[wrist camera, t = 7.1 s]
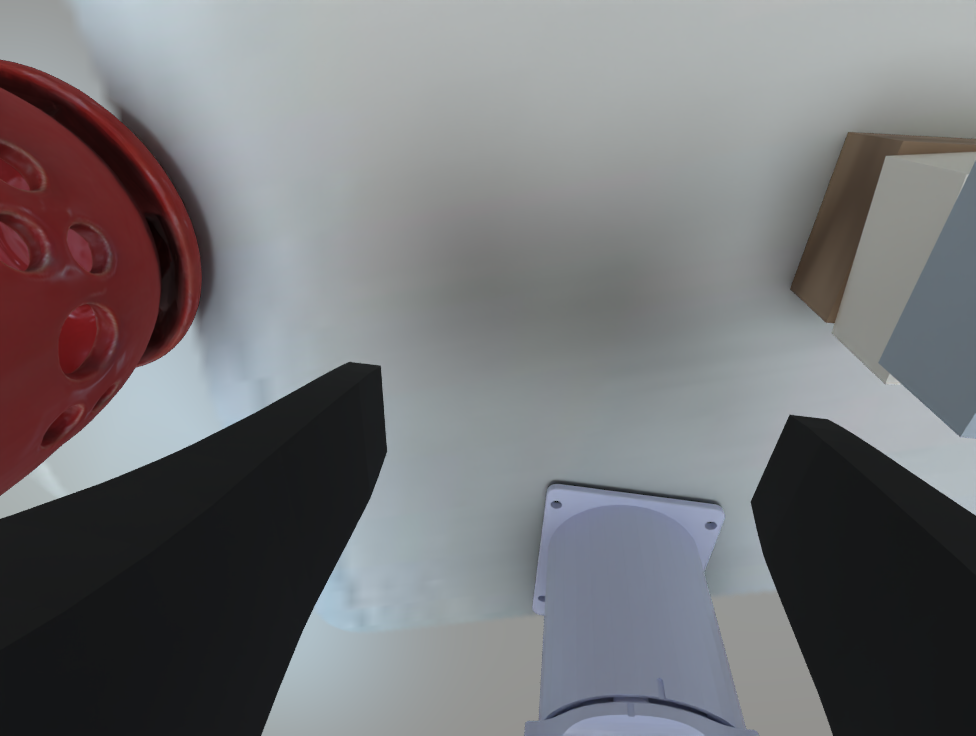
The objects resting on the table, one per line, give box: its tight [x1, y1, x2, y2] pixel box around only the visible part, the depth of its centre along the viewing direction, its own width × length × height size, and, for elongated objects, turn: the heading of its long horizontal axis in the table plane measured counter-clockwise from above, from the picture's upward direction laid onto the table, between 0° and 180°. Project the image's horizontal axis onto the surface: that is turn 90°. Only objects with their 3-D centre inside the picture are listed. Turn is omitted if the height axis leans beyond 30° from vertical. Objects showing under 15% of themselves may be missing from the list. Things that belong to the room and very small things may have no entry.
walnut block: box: [790, 132, 976, 323], centre depth 15 cm, size 5×5×3 cm
